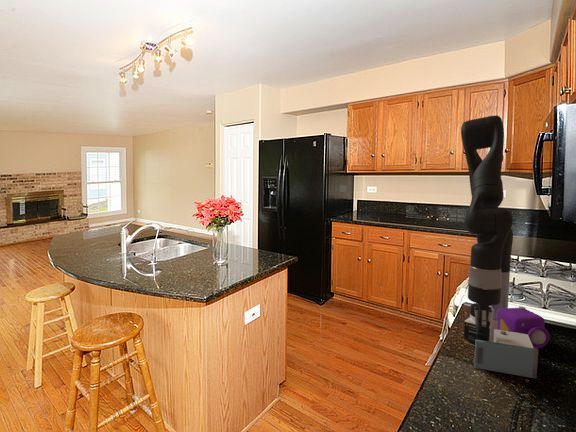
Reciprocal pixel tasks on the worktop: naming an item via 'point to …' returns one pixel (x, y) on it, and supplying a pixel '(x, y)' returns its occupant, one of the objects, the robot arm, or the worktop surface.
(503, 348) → the case door
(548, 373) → the worktop surface
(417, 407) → the worktop surface
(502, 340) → the camera case
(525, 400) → the worktop surface
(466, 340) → the medicine bottle
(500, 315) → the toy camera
